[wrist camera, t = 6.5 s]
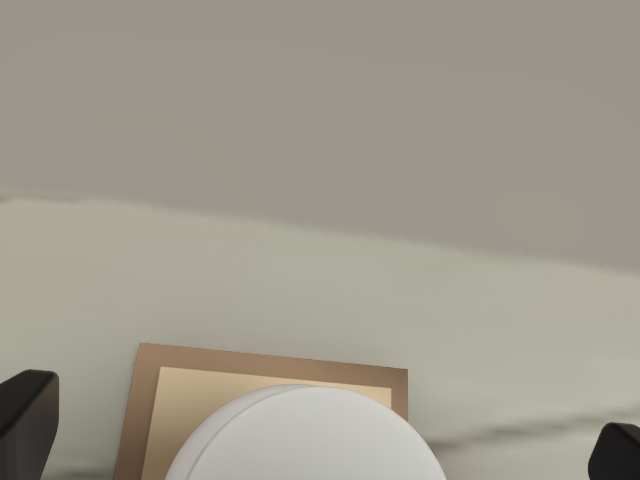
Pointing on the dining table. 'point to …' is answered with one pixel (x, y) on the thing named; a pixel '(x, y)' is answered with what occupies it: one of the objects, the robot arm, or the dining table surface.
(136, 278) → the dining table surface
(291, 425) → the pill bottle
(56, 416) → the robot arm
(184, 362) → the stand
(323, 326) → the dining table surface
